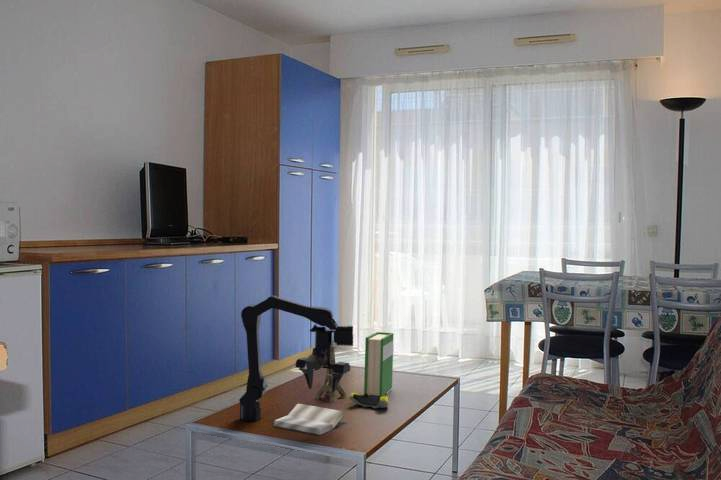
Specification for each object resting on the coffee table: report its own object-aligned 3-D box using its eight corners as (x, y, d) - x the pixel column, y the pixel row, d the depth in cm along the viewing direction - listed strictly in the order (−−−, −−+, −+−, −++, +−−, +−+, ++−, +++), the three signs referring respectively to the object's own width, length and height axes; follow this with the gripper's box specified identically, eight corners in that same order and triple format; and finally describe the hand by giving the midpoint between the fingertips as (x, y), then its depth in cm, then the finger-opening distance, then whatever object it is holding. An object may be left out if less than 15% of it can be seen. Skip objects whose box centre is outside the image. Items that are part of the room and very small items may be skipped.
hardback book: (381, 398, 262) (383, 338, 262) (363, 397, 264) (365, 337, 264) (391, 389, 279) (393, 333, 279) (375, 388, 281) (376, 332, 281)
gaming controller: (384, 413, 241) (394, 406, 250) (385, 398, 241) (394, 392, 250) (347, 407, 247) (358, 402, 256) (347, 393, 247) (358, 388, 256)
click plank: (288, 420, 225) (287, 415, 225) (298, 407, 231) (297, 403, 230) (333, 428, 217) (332, 424, 216) (343, 415, 222) (342, 411, 222)
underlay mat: (272, 427, 218) (272, 425, 218) (300, 416, 233) (300, 414, 233) (320, 437, 209) (320, 435, 209) (347, 424, 224) (347, 423, 224)
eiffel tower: (349, 397, 263) (350, 335, 263) (334, 402, 254) (336, 338, 254) (327, 393, 269) (328, 332, 269) (312, 398, 260) (314, 335, 260)
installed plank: (274, 425, 218) (274, 420, 218) (287, 420, 225) (287, 415, 225) (320, 434, 210) (320, 429, 210) (332, 429, 216) (332, 423, 216)
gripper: (287, 345, 222) (286, 391, 222) (336, 351, 214) (334, 398, 214) (304, 341, 232) (303, 385, 232) (351, 346, 224) (350, 392, 224)
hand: (321, 390), depth 225 cm, fingers open, 9 cm apart
